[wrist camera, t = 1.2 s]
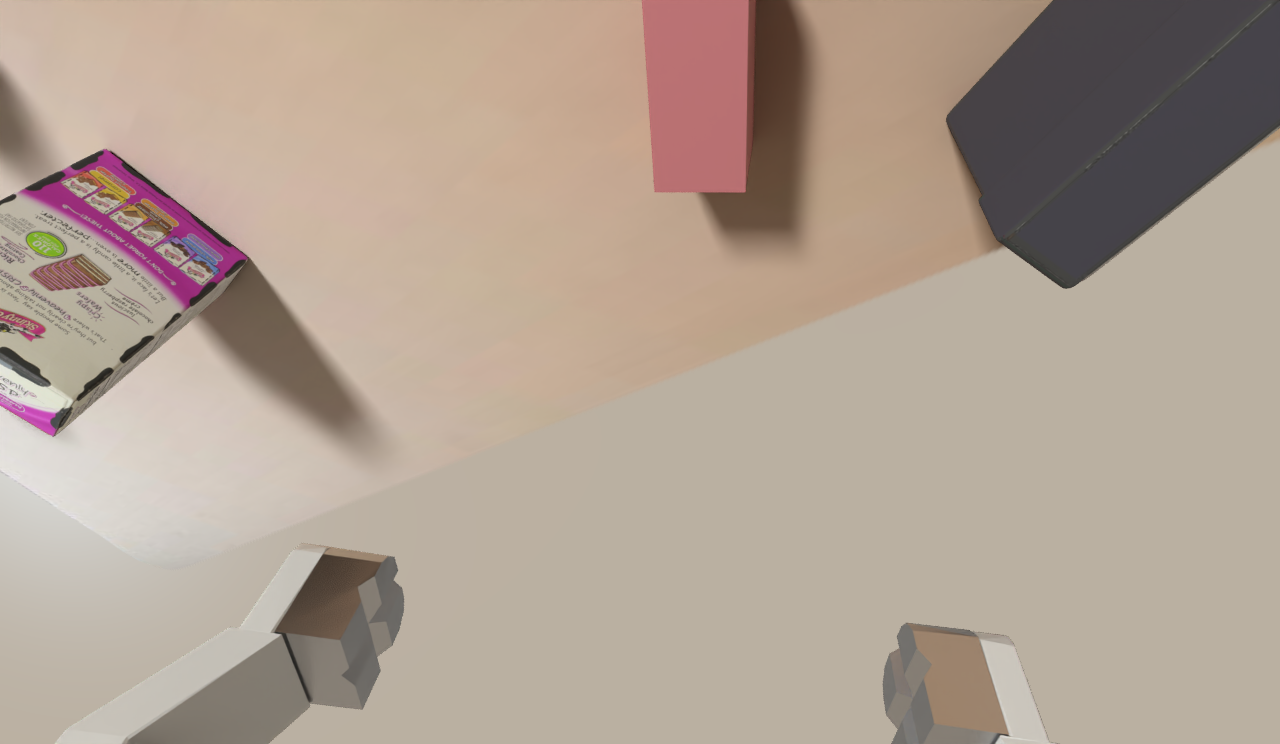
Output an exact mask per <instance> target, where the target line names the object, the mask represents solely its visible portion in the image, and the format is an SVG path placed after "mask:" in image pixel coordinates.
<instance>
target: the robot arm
mask: <svg viewBox="0 0 1280 744" xmlns="http://www.w3.org/2000/svg"><path fill="white" fill-rule="evenodd" d="M397 571H398V568H397V565H396V562H395V557H392V556H385V555H379V554H372V553H366V552H359V551H353V550H346V549H339V548H334V547H328V546H320V545H312V544H305V543H301V544H300V545H299V546H297V547H296V548H295V549H293V550H292V551H291V553H290V554H289V556H288V557H287V559H286V560H285V561H284V563H283V564H282V566H281V567H280V569H279V570H278V572H277V574H276V575H275V576H274V578H273V579H272V581H271V582H270V584H269V585H268V587H267V588H266V589H265V591H264V592H263V594H262V595H261V597H260V598H259V600H258V601H257V603H256V604H255V605H254V607H253V608H252V610H251V611H250V613H249V614H248V616H247V617H246V619H245V620H244V622H243V623H242V625H241V626H240V628H236V627H229V628H228V629H226V630H225V631H223V632H221V633H220V634H218V635H216V636H215V637H213V638H212V639H210V640H208V641H207V642H205V643H204V644H202V645H201V646H199V647H197V648H196V649H194V650H192V651H191V652H189V653H188V654H186V655H185V656H183V657H182V658H180V659H178V660H176V661H175V662H173V663H172V664H170V665H168V666H167V667H165V668H164V669H162V670H160V671H159V672H157V673H156V674H154V675H152V676H151V677H149V678H147V679H146V680H144V681H143V682H141V683H139V684H138V685H136V686H135V687H133V688H131V689H130V690H129V691H127V692H125V693H123V694H122V695H120V696H119V697H117V698H115V699H114V700H112V701H111V702H109V703H108V704H106V705H104V706H103V707H101V708H99V709H98V710H96V711H95V712H93V713H91V714H90V715H88V716H86V717H85V718H83V719H82V720H80V721H78V722H77V723H75V724H74V725H72V726H70V727H69V728H67V729H66V730H65V731H64V733H63V734H62V735H61V736H60V738H59V739H58V740H57V741H56V742H55V744H269V743H270V742H271V741H272V740H273V739H274V738H275V737H276V736H277V735H279V734H280V733H281V732H282V731H283V730H284V729H286V728H287V727H288V726H289V725H290V724H291V723H292V722H294V720H296V719H297V718H298V717H299V716H300V715H301V714H302V713H304V712H305V711H306V710H307V709H308V708H309V707H310V704H309V703H311V704H320V705H328V706H336V707H345V708H354V709H363V707H364V705H365V703H366V701H367V699H368V697H369V695H370V692H371V690H372V688H373V686H374V684H375V681H376V680H377V677H378V675H379V673H380V667H379V663H378V659H377V657H378V656H379V655H380V654H382V653H383V652H384V651H386V650H387V649H388V648H390V647H391V646H392V645H393V642H394V640H395V638H396V636H397V633H398V631H399V629H400V625H401V620H402V616H403V612H404V595H403V590H402V588H401V587H400V586H399V585H398V584H397V583H396V582H395V581H394V577H395V575H396V574H397ZM897 639H898V644H899V649H897V650H896V651H894V652H892V653H890V654H889V657H888V659H887V662H886V665H885V669H884V678H883V695H884V696H883V697H884V704H885V711H886V715H887V717H888V718H889V719H890V720H891V722H892V723H893V724H894V725H895V726H896V728H897V729H898V730H897V733H896V735H895V737H894V739H893V741H892V743H891V744H1058V743H1053V742H1050V741H1049V739H1048V736H1047V733H1046V730H1045V728H1044V725H1043V722H1042V719H1041V717H1040V714H1039V711H1038V708H1037V706H1036V703H1035V700H1034V698H1033V695H1032V692H1031V689H1030V687H1029V684H1028V681H1027V679H1026V676H1025V673H1024V670H1023V668H1022V665H1021V663H1020V660H1019V657H1018V654H1017V651H1016V648H1015V646H1014V643H1013V642H1012V641H1011V639H1010V638H1009V637H1008V636H1004V635H998V634H989V633H981V632H971V631H970V630H964V629H956V628H947V627H938V626H930V625H921V624H913V623H906V624H904V625H903V626H901V629H900V631H899V633H898V635H897Z"/></svg>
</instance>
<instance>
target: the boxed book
mask: <svg viewBox="0 0 1280 744" xmlns="http://www.w3.org/2000/svg"><path fill="white" fill-rule="evenodd" d="M642 8H643V23H644V38H645V54H646V69H647V84H648V99H649V114H650V129H651V145H652V160H653V175H654V190H655V192H746V186H747V179H748V172H749V166H750V159H751V152H752V146H753V119H754V73H755V28H756V0H642Z"/></svg>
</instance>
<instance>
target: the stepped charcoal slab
mask: <svg viewBox="0 0 1280 744" xmlns="http://www.w3.org/2000/svg"><path fill="white" fill-rule="evenodd" d="M946 122H947V124H948V126H949V128H950V130H951V132H952V134H953V136H954V138H955V141H956V143H957V145H958V147H959V149H960V151H961V153H962V155H963V157H964V159H965V161H966V163H967V165H968V167H969V169H970V171H971V173H972V175H973V177H974V179H975V181H976V183H977V185H978V187H979V189H980V192H981V194H982V197H981V198H980V199H979V204H980V206H981V208H982V210H983V212H984V214H985V217H986V219H987V221H988V223H989V225H990V227H991V229H992V231H993V234H994V236H995V238H996V239H997V240H998V241H999V242H1000V243H1002V244H1003V245H1004V246H1005V247H1007V248H1008V249H1010V250H1011V251H1012V252H1014V253H1015V254H1016V255H1018V256H1019V257H1021V258H1022V259H1023V260H1025V261H1026V262H1027V263H1029V264H1030V265H1032V266H1033V267H1034V268H1036V269H1037V270H1038V271H1040V272H1041V273H1042V274H1044V275H1045V276H1047V277H1048V278H1049V279H1051V280H1052V281H1054V282H1055V283H1056V284H1058V285H1059V286H1060V287H1062V288H1066V289H1067V288H1071V287H1074V286H1075V285H1077V284H1078V283H1079V282H1081V281H1083V280H1085V279H1086V278H1088V277H1089V276H1091V275H1092V274H1093V273H1095V272H1096V271H1097V270H1099V269H1100V268H1101V267H1103V266H1104V265H1105V264H1106V263H1108V262H1109V261H1110V260H1112V259H1113V258H1114V257H1115V256H1117V255H1118V254H1119V253H1121V252H1122V251H1123V250H1124V249H1126V248H1127V247H1128V246H1129V245H1131V244H1132V243H1133V242H1134V241H1136V240H1137V239H1138V238H1140V237H1141V236H1142V235H1143V234H1145V233H1146V232H1147V231H1149V230H1150V229H1151V228H1152V227H1154V226H1155V225H1156V224H1158V223H1159V222H1160V221H1161V220H1163V219H1164V218H1165V217H1167V216H1168V215H1169V214H1170V213H1172V212H1173V211H1174V210H1175V209H1177V208H1178V207H1179V206H1181V205H1182V204H1183V203H1184V202H1186V201H1187V200H1188V199H1189V198H1191V197H1192V196H1193V195H1195V194H1196V193H1197V192H1199V191H1200V190H1201V189H1202V188H1204V187H1205V186H1206V185H1207V184H1209V183H1210V182H1211V181H1213V180H1214V179H1215V178H1216V177H1218V176H1219V175H1220V174H1221V173H1223V172H1224V171H1225V170H1227V169H1228V168H1229V167H1230V166H1232V165H1233V164H1234V163H1236V162H1237V161H1238V160H1239V159H1241V158H1242V157H1243V156H1245V155H1246V154H1247V153H1248V152H1250V151H1251V150H1252V149H1254V148H1255V147H1256V146H1257V145H1259V144H1260V143H1261V142H1263V141H1264V140H1265V139H1266V138H1268V137H1269V136H1270V135H1271V134H1273V133H1274V132H1275V131H1277V130H1278V129H1279V128H1280V0H1053V1H1052V2H1051V3H1050V4H1049V5H1048V6H1047V7H1046V9H1045V10H1044V11H1043V12H1042V13H1041V14H1040V15H1039V16H1038V17H1037V18H1036V19H1035V20H1034V22H1033V23H1032V24H1031V25H1030V26H1029V27H1028V28H1027V29H1026V30H1025V31H1024V32H1023V33H1022V34H1021V36H1020V37H1019V38H1018V39H1017V40H1016V41H1015V42H1014V43H1013V44H1012V45H1011V46H1010V47H1009V49H1008V50H1007V51H1006V52H1005V53H1004V54H1003V55H1002V56H1001V57H1000V58H999V59H998V60H997V62H996V63H995V64H994V65H993V66H992V67H991V68H990V69H989V70H988V71H987V72H986V73H985V75H984V76H983V77H982V78H981V79H980V80H979V81H978V82H977V83H976V84H975V85H974V86H973V87H972V89H971V90H970V91H969V92H968V93H967V94H966V95H965V96H964V97H963V98H962V99H961V100H960V102H959V103H958V104H957V105H956V106H955V107H954V108H953V109H952V110H951V111H950V113H949V114H948V115H947V118H946Z"/></svg>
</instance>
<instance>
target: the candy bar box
mask: <svg viewBox="0 0 1280 744" xmlns="http://www.w3.org/2000/svg"><path fill="white" fill-rule="evenodd" d="M247 260H248V258H247V257H246V256H245V255H244V254H243V253H242V252H241V251H239V250H238V249H237V248H235V247H234V246H233V245H232V244H230V243H229V242H228V241H226V240H225V239H224V238H222V237H221V236H220V235H219V234H217V233H216V232H215V231H213V230H212V229H211V228H209V227H208V226H207V225H205V224H204V223H203V222H201V221H200V220H199V219H197V218H196V217H195V216H193V215H192V214H191V213H190V212H188V211H187V210H186V209H184V208H183V207H182V206H180V205H179V204H178V203H176V202H175V201H174V200H172V199H171V198H170V197H168V196H167V195H166V194H165V193H163V192H162V191H161V190H159V189H158V188H157V187H155V186H154V185H153V184H151V183H150V182H149V181H147V180H146V179H145V178H143V177H142V176H141V175H139V174H138V173H137V172H135V171H134V170H133V169H131V168H130V167H129V166H128V165H126V164H125V163H124V162H122V161H121V160H120V159H118V158H117V157H116V156H114V155H113V154H112V153H111V152H109V151H108V150H107V149H103V150H101V151H99V152H97V153H95V154H93V155H90V156H88V157H86V158H84V159H82V160H80V161H78V162H76V163H74V164H72V165H71V166H68V167H66V168H64V169H62V170H60V171H58V172H56V173H54V174H53V175H50V176H48V177H46V178H44V179H42V180H40V181H38V182H36V183H34V184H32V185H30V186H28V187H26V188H25V189H22V190H20V191H18V192H16V193H14V194H12V195H10V196H8V197H6V198H5V199H3V200H1V201H0V406H2V407H4V408H5V409H7V410H9V411H10V412H12V413H13V414H15V415H17V416H19V417H20V418H22V419H24V420H25V421H27V422H29V423H30V424H32V425H34V426H35V427H37V428H39V429H40V430H42V431H44V432H45V433H47V434H48V435H50V436H52V437H54V436H55V435H57V434H58V433H59V432H60V431H62V430H63V429H64V428H65V427H66V426H68V425H69V424H70V423H71V422H72V421H74V420H75V419H76V418H77V417H78V416H79V415H81V414H82V413H83V412H84V411H85V410H86V409H87V408H89V407H90V406H91V405H92V404H93V403H94V402H95V401H96V400H98V399H99V398H100V397H101V396H103V395H104V394H105V393H106V392H107V391H108V390H110V389H111V388H112V387H113V386H114V385H115V384H117V383H118V382H119V381H120V380H121V379H122V378H124V377H125V376H126V375H127V374H129V373H130V372H131V371H132V370H133V369H134V368H136V367H137V366H138V365H139V364H140V363H141V362H143V361H144V360H145V359H146V358H147V357H149V356H150V355H151V354H152V353H154V352H155V351H156V350H157V349H158V348H160V347H161V346H162V345H163V344H164V343H165V342H166V341H168V340H169V339H170V338H171V337H172V336H173V335H174V334H176V333H177V332H178V331H179V330H181V329H182V328H183V327H184V326H185V325H187V324H188V323H189V322H190V321H191V320H192V319H193V318H195V317H196V316H197V315H198V314H199V313H201V312H202V311H203V310H204V309H205V308H206V307H207V306H209V305H210V304H211V303H212V302H213V301H214V300H216V299H217V298H218V297H219V296H220V295H221V294H222V293H223V292H224V291H225V290H226V288H227V287H228V286H229V285H230V283H231V281H232V280H233V279H234V277H235V276H236V275H237V273H238V272H239V271H240V270H241V268H242V267H243V266H244V264H245V263H246V262H247Z"/></svg>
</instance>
